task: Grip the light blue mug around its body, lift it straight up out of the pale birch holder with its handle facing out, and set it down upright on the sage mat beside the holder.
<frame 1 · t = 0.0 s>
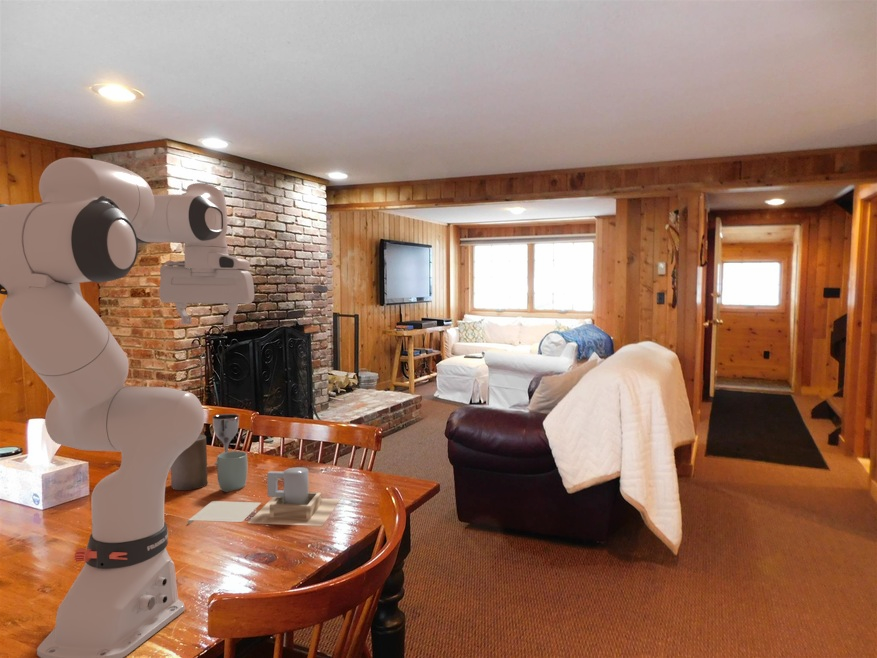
hand: (207, 324, 131), 48 cm above the table, tool pointing down, fingers open, 8 cm apart
pillar candle: (189, 485, 169), on the table
cup: (232, 490, 166), on the table
holder: (296, 514, 148), on the table
light blue mug: (296, 510, 148), point 1 cm above the table, touching holder
wine glass: (226, 462, 192), on the table
mat: (226, 514, 147), on the table
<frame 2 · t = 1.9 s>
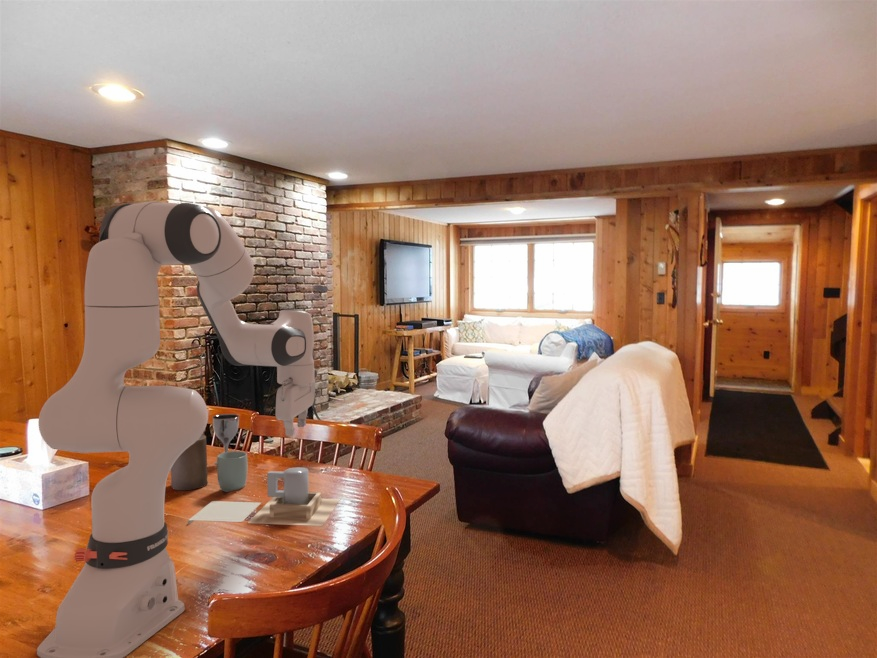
hand: (296, 430, 147), 21 cm above the table, tool pointing down, fingers open, 8 cm apart
nothing on the table moved.
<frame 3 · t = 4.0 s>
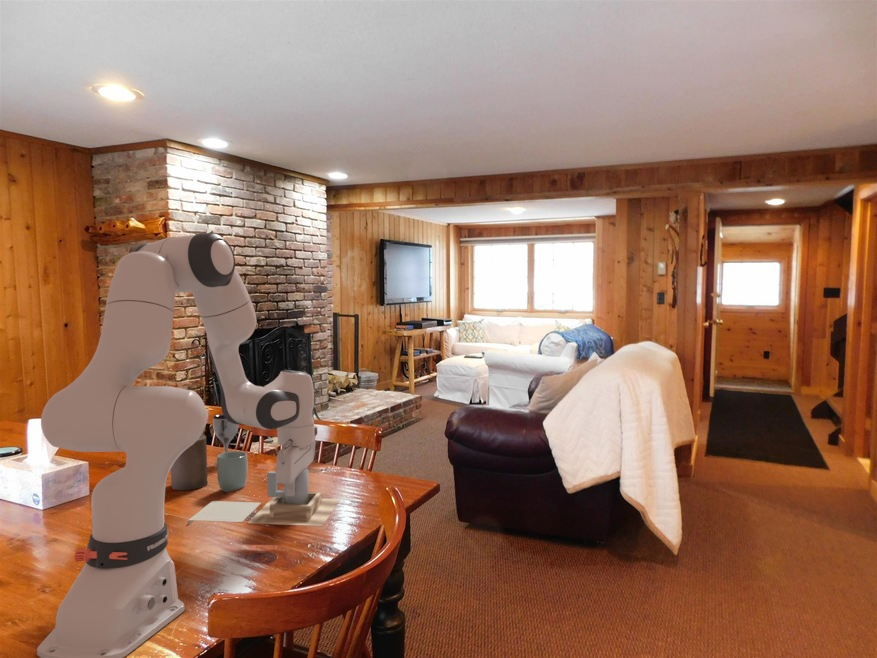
hand: (296, 490, 148), 6 cm above the table, tool pointing down, fingers closed on light blue mug, 6 cm apart
light blue mug: (296, 510, 148), point 1 cm above the table, touching gripper, holder
everything else where it was.
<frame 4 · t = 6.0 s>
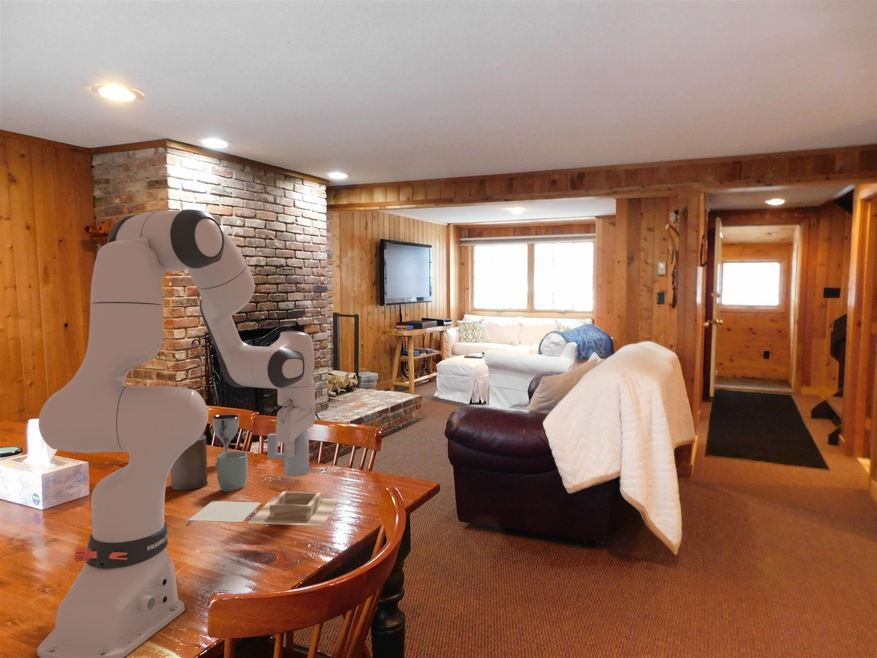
hand: (296, 452, 147), 16 cm above the table, tool pointing down, fingers closed on light blue mug, 6 cm apart
light blue mug: (296, 473, 147), point 11 cm above the table, touching gripper
everything else where it was.
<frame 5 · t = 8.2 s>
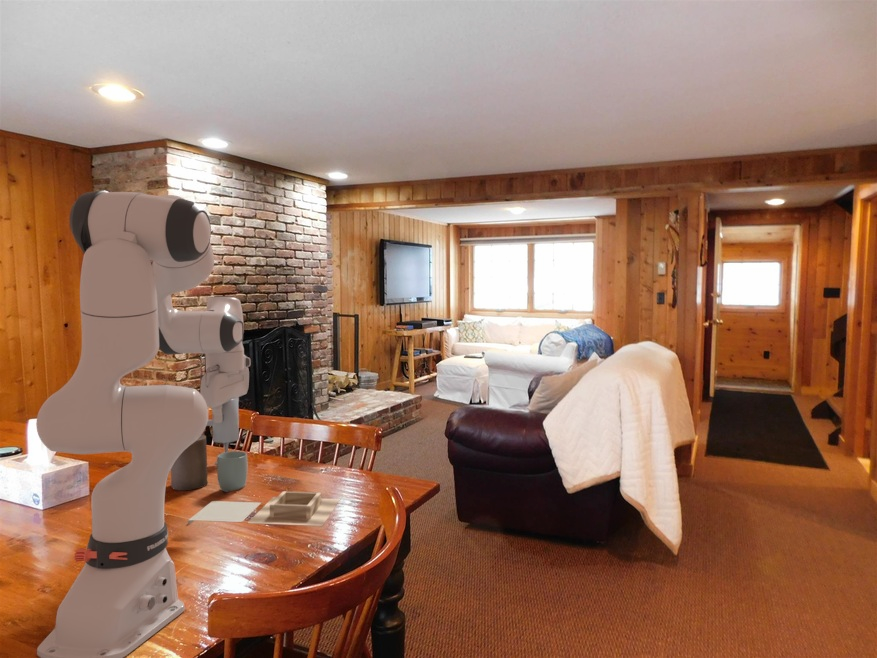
hand: (225, 419, 146), 24 cm above the table, tool pointing down, fingers closed on light blue mug, 6 cm apart
light blue mug: (225, 439, 146), point 19 cm above the table, touching gripper
everything else where it was.
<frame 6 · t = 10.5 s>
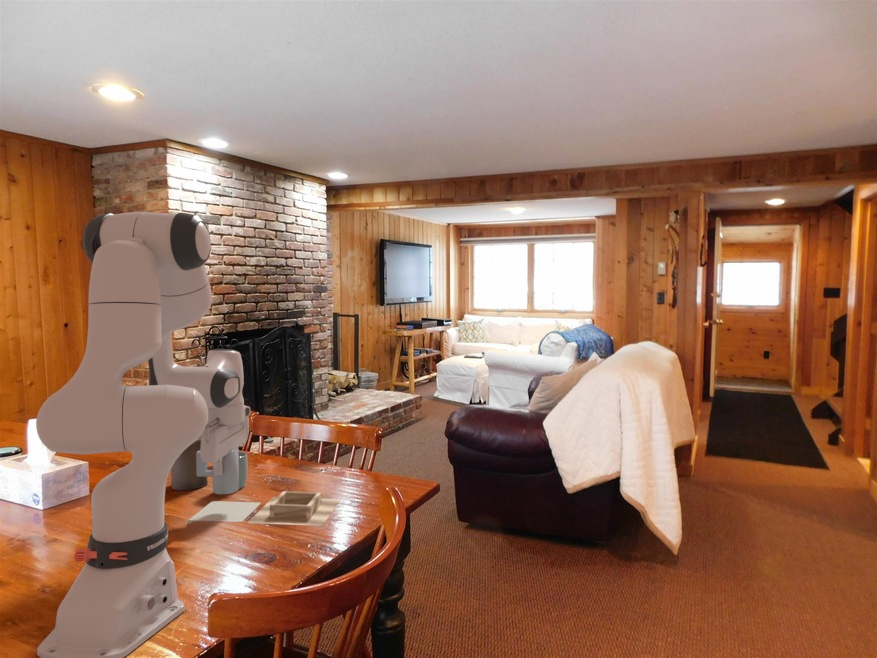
hand: (225, 469, 147), 11 cm above the table, tool pointing down, fingers closed on light blue mug, 6 cm apart
light blue mug: (225, 490, 147), point 6 cm above the table, touching gripper
everything else where it was.
when the fingers open (8 cm above the table, at t = 12.3 s): light blue mug drops 1 cm, resting on mat.
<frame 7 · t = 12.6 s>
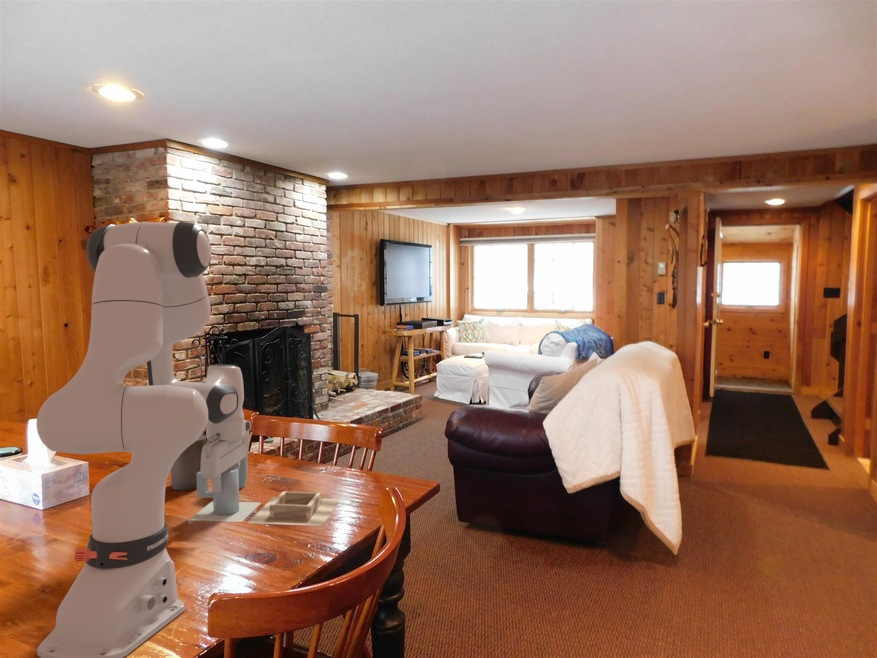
hand: (226, 484, 147), 8 cm above the table, tool pointing down, fingers open, 8 cm apart
light blue mug: (226, 510, 147), point 1 cm above the table, touching mat
everything else where it was.
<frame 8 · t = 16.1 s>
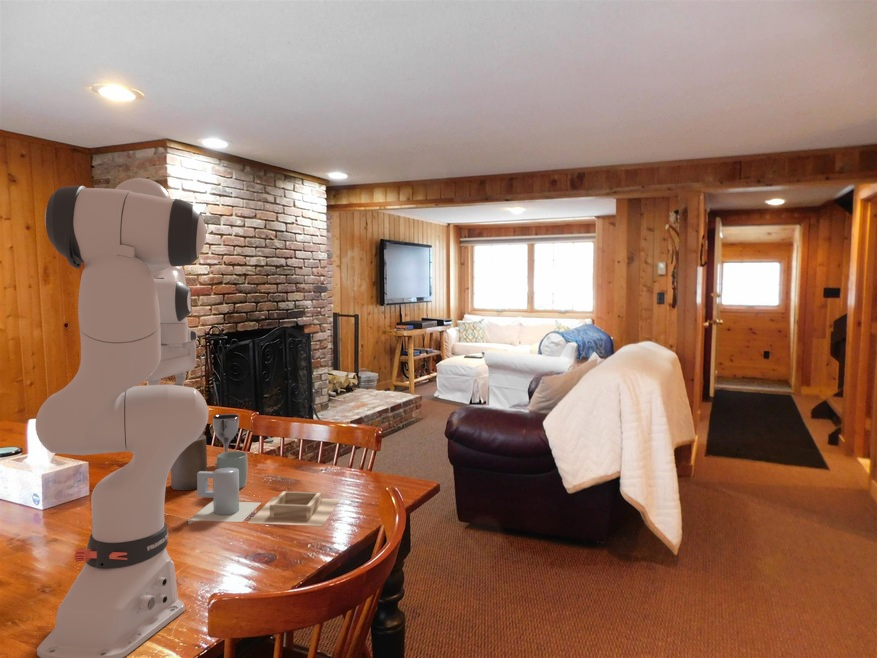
hand: (168, 394, 138), 31 cm above the table, tool pointing down, fingers open, 8 cm apart
nothing on the table moved.
at the end: light blue mug inside the target area (0.1 cm from its centre), point 1.1 cm above the table; light blue mug tilted 1°; the gripper is holding nothing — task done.
